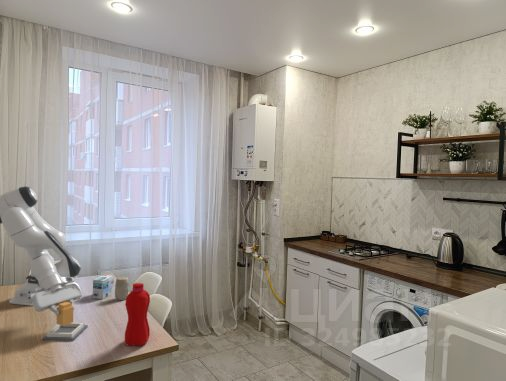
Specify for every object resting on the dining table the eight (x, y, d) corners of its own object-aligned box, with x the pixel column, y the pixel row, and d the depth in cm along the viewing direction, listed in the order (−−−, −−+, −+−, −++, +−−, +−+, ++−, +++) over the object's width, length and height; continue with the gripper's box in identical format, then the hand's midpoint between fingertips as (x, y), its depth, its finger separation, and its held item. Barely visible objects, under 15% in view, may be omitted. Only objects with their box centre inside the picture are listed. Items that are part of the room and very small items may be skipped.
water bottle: (152, 334, 152) (153, 279, 151) (144, 347, 141) (146, 287, 140) (131, 334, 152) (132, 278, 151) (122, 346, 141) (123, 286, 140)
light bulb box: (102, 299, 192) (103, 280, 191) (92, 298, 193) (92, 279, 193) (114, 293, 202) (114, 275, 202) (104, 292, 204) (104, 274, 203)
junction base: (42, 340, 144) (42, 334, 144) (59, 326, 157) (59, 321, 157) (73, 340, 144) (73, 335, 144) (87, 327, 157) (87, 321, 157)
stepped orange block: (56, 323, 149) (56, 304, 149) (66, 319, 153) (66, 300, 153) (63, 326, 147) (63, 306, 147) (73, 322, 151) (73, 303, 151)
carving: (130, 299, 194) (130, 278, 194) (117, 302, 189) (117, 280, 189) (126, 295, 199) (126, 275, 198) (113, 298, 194) (113, 277, 193)
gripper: (31, 288, 144) (44, 316, 139) (76, 276, 162) (89, 301, 157) (25, 296, 146) (38, 324, 142) (70, 284, 164) (83, 308, 160)
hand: (65, 312), depth 150 cm, fingers closed on stepped orange block, 5 cm apart
